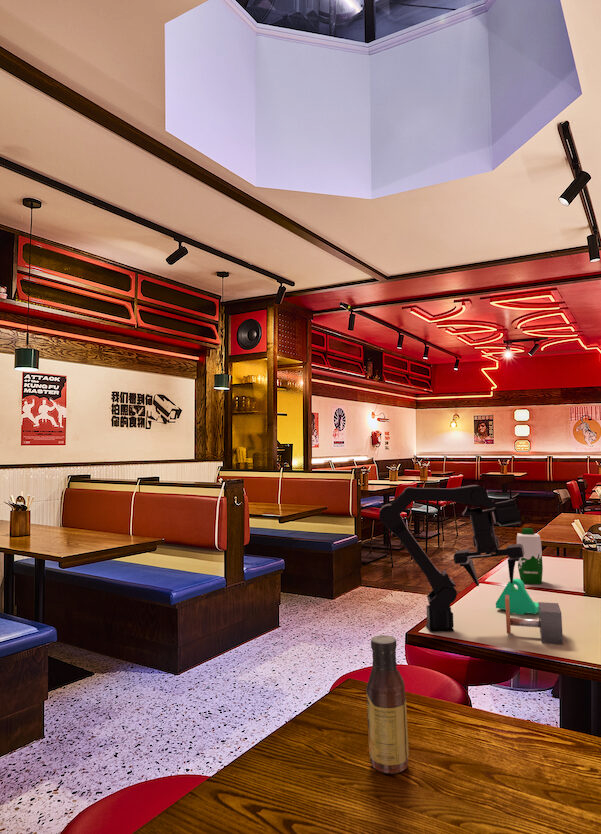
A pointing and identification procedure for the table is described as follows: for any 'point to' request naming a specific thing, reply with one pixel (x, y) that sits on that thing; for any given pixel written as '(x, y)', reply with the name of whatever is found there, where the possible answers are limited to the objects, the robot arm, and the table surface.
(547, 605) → the block
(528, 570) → the milk carton
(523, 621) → the lock pin
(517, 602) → the camera mount
